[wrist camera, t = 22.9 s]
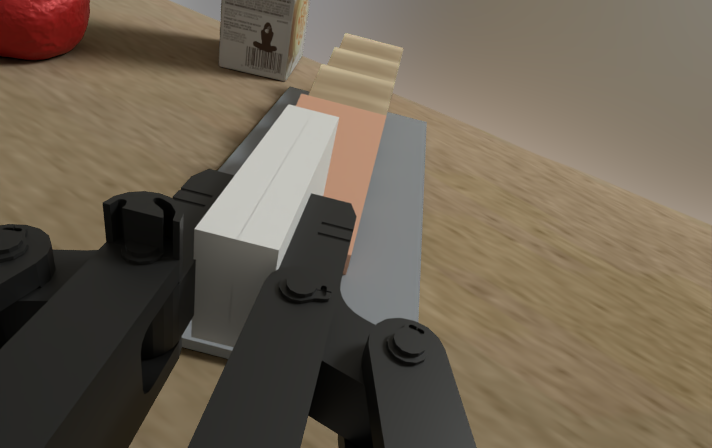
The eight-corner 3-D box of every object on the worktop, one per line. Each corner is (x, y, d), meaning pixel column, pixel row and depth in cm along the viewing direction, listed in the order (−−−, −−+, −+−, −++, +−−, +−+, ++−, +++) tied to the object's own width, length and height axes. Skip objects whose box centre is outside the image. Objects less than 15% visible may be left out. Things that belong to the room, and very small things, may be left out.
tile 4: (383, 126, 34) (403, 48, 40) (314, 108, 34) (345, 32, 40) (378, 142, 35) (399, 64, 41) (312, 125, 35) (342, 49, 41)
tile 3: (376, 155, 30) (399, 63, 36) (298, 134, 30) (334, 46, 36) (371, 172, 31) (395, 81, 37) (296, 153, 31) (332, 65, 37)
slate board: (95, 324, 18) (94, 315, 17) (289, 92, 41) (289, 86, 41) (411, 406, 18) (415, 398, 17) (424, 127, 41) (426, 122, 41)
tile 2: (366, 193, 26) (394, 83, 32) (276, 169, 26) (321, 63, 32) (362, 211, 27) (389, 101, 33) (275, 188, 27) (319, 83, 33)
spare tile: (351, 255, 21) (386, 115, 27) (240, 226, 21) (301, 93, 27) (346, 274, 22) (380, 136, 28) (241, 247, 22) (299, 115, 28)
